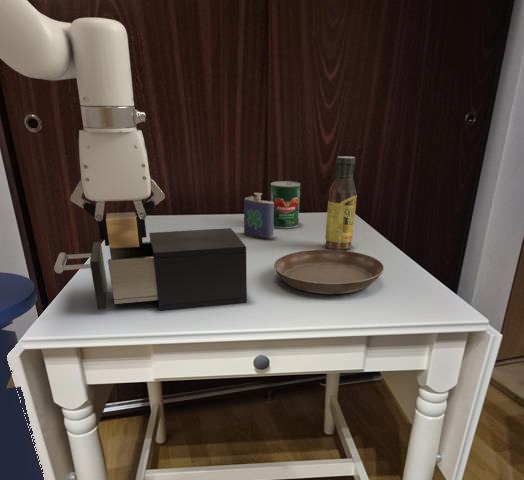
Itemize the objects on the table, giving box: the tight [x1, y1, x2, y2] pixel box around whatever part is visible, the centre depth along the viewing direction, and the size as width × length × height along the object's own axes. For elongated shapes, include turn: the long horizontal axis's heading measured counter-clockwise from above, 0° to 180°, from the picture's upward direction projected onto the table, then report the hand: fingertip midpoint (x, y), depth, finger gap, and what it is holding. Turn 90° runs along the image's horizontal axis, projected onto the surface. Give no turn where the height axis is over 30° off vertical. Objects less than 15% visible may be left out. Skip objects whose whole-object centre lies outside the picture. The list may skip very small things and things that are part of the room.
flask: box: [243, 192, 275, 241], centre depth 119 cm, size 9×3×11 cm, turn 49°
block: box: [105, 211, 139, 249], centre depth 78 cm, size 5×5×5 cm
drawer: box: [53, 240, 158, 310], centre depth 81 cm, size 19×12×8 cm, turn 105°
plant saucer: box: [273, 249, 385, 295], centre depth 92 cm, size 21×21×3 cm
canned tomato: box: [270, 180, 301, 229], centre depth 130 cm, size 8×8×11 cm
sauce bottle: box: [325, 155, 358, 251], centre depth 109 cm, size 7×6×20 cm
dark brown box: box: [149, 227, 248, 312], centre depth 84 cm, size 15×13×10 cm
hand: (124, 241), depth 79 cm, fingers closed on block, 4 cm apart
